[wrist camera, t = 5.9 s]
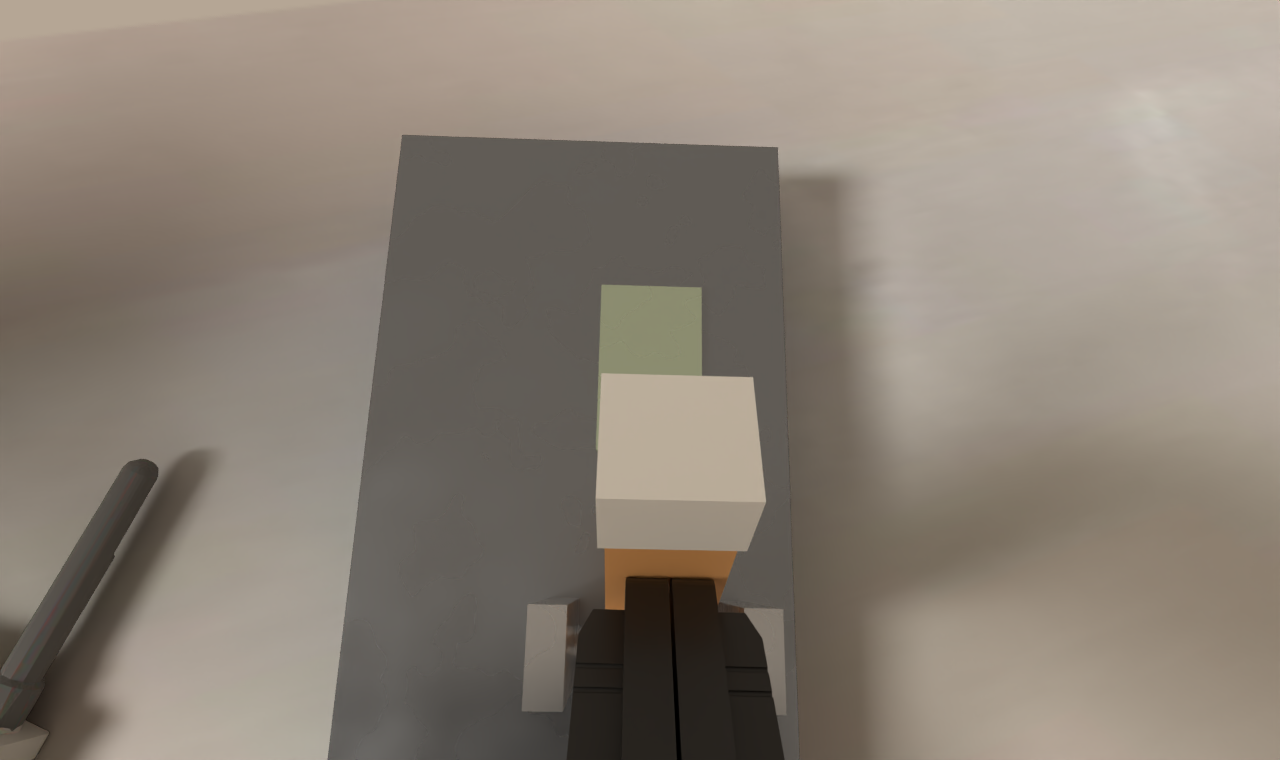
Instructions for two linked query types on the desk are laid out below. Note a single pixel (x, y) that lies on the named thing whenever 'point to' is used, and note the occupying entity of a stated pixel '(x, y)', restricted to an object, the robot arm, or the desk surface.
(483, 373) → the breaker plate
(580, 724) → the robot arm
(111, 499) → the walkie-talkie
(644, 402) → the breaker lever
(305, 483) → the desk surface
